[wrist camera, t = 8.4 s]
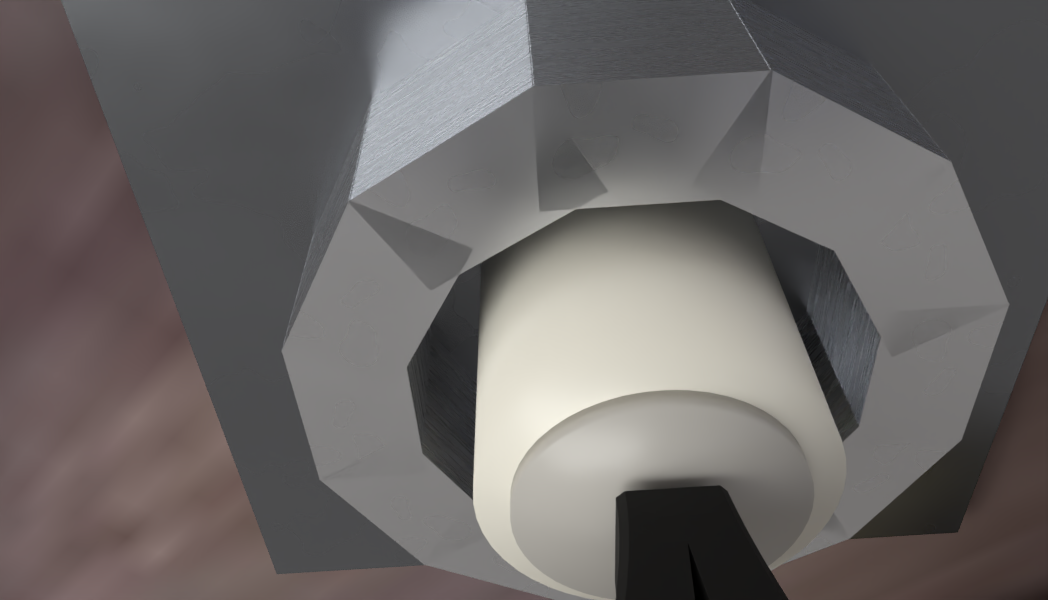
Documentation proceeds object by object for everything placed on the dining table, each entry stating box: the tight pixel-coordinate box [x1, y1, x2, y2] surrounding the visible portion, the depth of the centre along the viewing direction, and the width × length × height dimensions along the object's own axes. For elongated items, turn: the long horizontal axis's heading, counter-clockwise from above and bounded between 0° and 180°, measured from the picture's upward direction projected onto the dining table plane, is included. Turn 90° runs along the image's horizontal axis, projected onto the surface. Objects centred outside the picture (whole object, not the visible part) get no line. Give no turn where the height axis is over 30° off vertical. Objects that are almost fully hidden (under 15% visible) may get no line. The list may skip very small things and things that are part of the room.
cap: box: [473, 200, 847, 600], centre depth 14 cm, size 5×5×5 cm
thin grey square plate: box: [61, 0, 1048, 600], centre depth 15 cm, size 16×16×4 cm
